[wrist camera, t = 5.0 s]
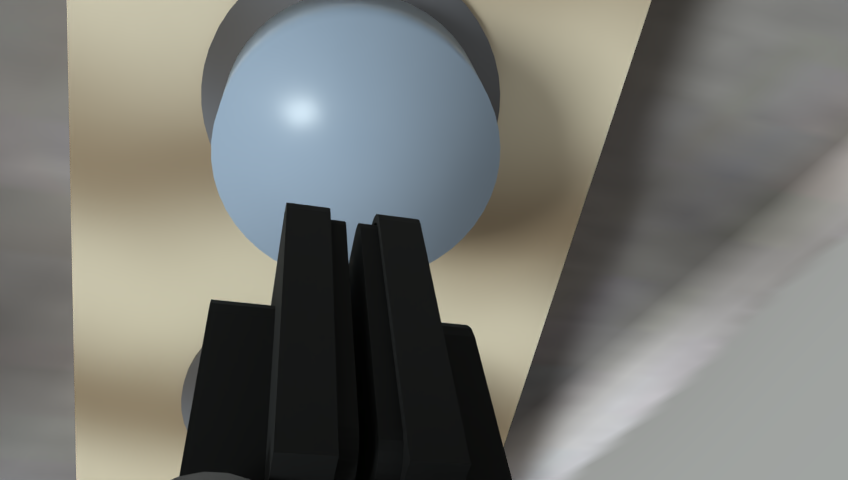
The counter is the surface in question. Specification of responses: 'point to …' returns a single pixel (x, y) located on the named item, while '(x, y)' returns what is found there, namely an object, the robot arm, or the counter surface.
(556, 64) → the button panel
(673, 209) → the counter surface
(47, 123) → the counter surface
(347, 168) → the slate button
